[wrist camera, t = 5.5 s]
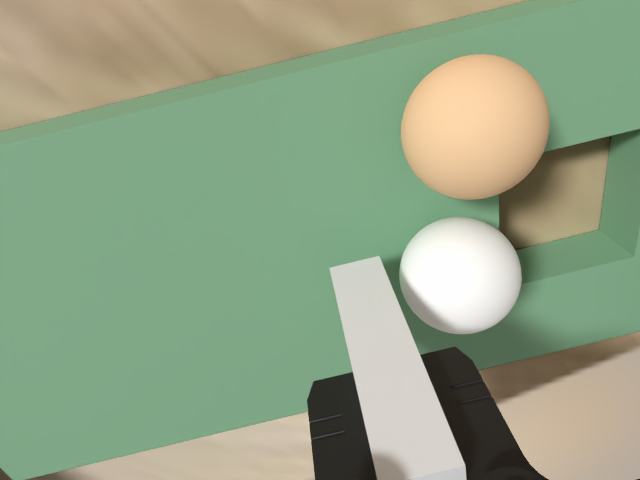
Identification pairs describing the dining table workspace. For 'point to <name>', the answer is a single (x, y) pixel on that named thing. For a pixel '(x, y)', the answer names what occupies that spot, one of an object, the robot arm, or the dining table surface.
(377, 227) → the putting mat
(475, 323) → the white ball
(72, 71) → the dining table surface
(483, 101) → the orange ball
